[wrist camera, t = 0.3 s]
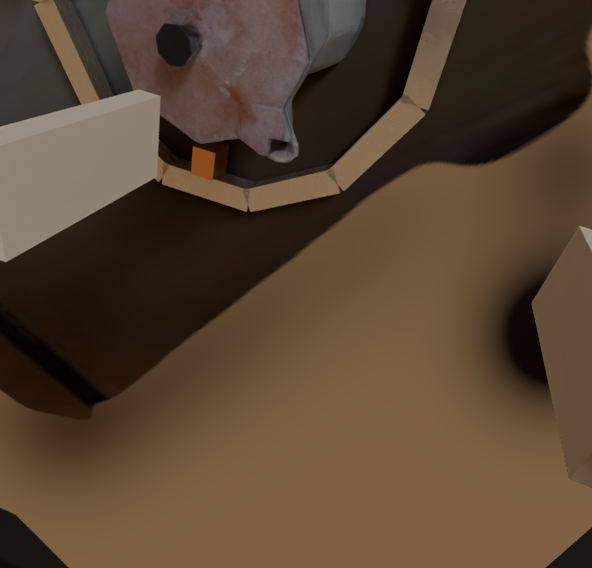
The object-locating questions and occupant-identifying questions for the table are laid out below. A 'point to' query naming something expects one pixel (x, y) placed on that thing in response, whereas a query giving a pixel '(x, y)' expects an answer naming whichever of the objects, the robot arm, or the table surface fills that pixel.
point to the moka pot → (232, 61)
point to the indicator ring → (214, 156)
